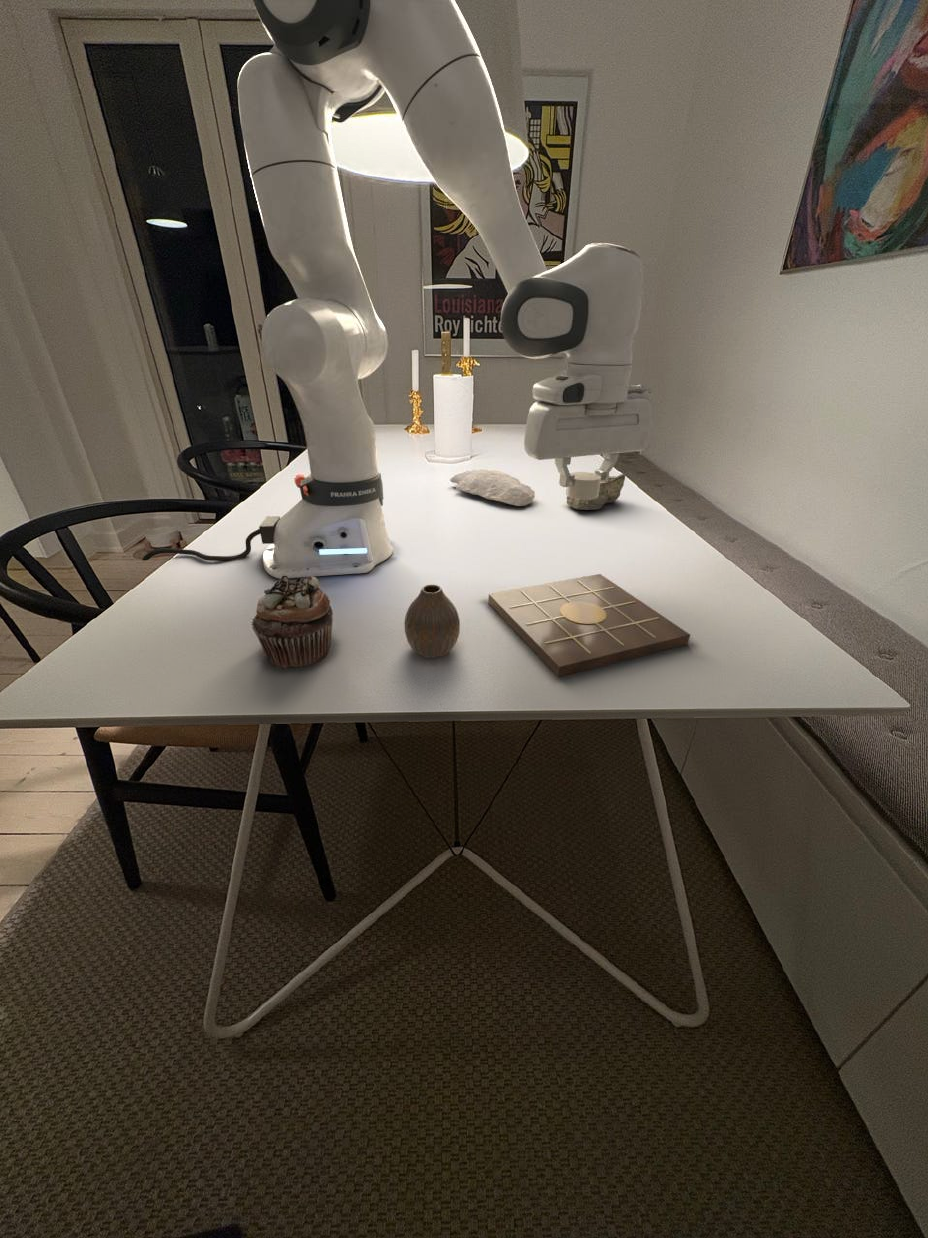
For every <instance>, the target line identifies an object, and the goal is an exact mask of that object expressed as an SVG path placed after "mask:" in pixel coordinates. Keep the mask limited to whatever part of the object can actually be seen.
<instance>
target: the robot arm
mask: <svg viewBox="0 0 928 1238" xmlns="http://www.w3.org/2000/svg"><path fill="white" fill-rule="evenodd" d="M252 2H253V5H254V8H255V11H256V14H257V15H258V18H259V20H260V22H261V24H262V26H263V28H264V30H265V32H266V33H267V35H268V37H269V38H270V40H271V42H272V43H273V46H272V48H270V49H269V52H263V53H260V54H256V55H254V56H252V57H251V58H249V60H247V61H246V62H245V63H244V65H243V66H242V67H241V69H240V72H239V75H238V78H237V98H238V99H237V100H238V111H239V119H240V120H239V121H240V126H241V133H242V139H243V140H242V141H243V146H244V151H245V155H246V160H247V165H248V169H249V174H250V178H251V181H252V185H253V190H254V194H255V198H256V201H257V206H258V211H259V214H260V218H261V222H262V226H263V230H264V233H265V237H266V241H267V245H268V248H269V251H270V253H271V255H272V257H273V259H274V260H275V262H276V263H277V264H278V265H279V267H280V268H281V269H282V270H283V272H284V273H285V275H286V277H287V278H288V280H289V282H290V284H291V286H292V288H293V291H294V292H295V294H296V297H297V298H295V299H292V300H290V301H287V302H283V303H282V304H280V305H278V306H276V307H275V308H273V309H272V310H271V311H269V313H268V314H267V316H266V317H265V319H264V322H263V324H262V328H261V346H262V351H263V354H264V357H265V359H266V361H267V363H268V365H269V366H270V368H271V369H272V371H273V372H274V373H275V374H276V375H277V376H278V377H279V378H280V379H281V380H282V381H283V382H284V384H285V385H286V387H287V388H288V391H289V392H290V395H291V397H292V400H293V402H294V405H295V407H296V409H297V411H298V414H299V417H300V420H301V424H302V427H303V432H304V435H305V436H304V437H305V443H306V450H307V457H308V463H309V469H310V474H309V475H308V476H305V475H304V474H299V473H298V474H297V475H295V477H294V485H295V486H296V487H297V488H298V489H299V492H300V496H301V499H300V500H299V501H298V502H297V503H296V504H295V505H294V506H292V508H290V509H289V510H288V511H287V512H286V513H285V514H283V515H282V516H281V517H280V515H277V516H271V515H270V516H269V515H268V516H266V517H265V518H264V519H263V521H262V522H261V523H260V525H258V526H259V527H258V529H256V530H254V531H252V532H250V533H249V534H248V535H247V537H246V538H245V550H244V551H243V552H241V553H239V554H237V555H225V556H224V555H207V554H204V553H201V552H200V551H197V550H194V549H193V550H192V549H184V548H172V547H171V548H170V547H161V548H156V549H152V550H151V551H148V552H147V553H146V554H144V556H143V557H142V559H141V561H149V560H150V559H151V558H152V557H154V556H157V555H160V554H177V555H178V554H179V555H189V556H194V557H197V558H199V559H201V560H204V561H209V562H231V561H235V560H240V559H244V558H246V557H247V556H249V554H251V552H252V544H251V542H252V540H253V539H254V538H255V537H257V536H259V535H260V539H261V544H262V545H268V544H269V546H268V547H266V548H265V550H264V551H263V554H262V562H263V563H262V564H263V567H264V568H263V569H264V570H265V572H266V573H267V574H269V576H272V577H274V578H276V579H279V580H281V577H282V576H287V577H288V578H289V579H299V578H304V577H306V578H308V577H309V576H310V577H326V576H339V575H356V574H367V573H369V572H371V571H372V570H373V569H374V568H375V567H376V566H377V565H378V564H380V563H382V562H384V561H385V560H387V559H388V558H390V557H391V556H392V554H393V551H394V548H393V546H392V543H391V541H390V538H389V533H388V531H387V527H386V522H385V517H384V512H383V505H384V486H383V480H382V474H381V473H380V472H379V463H378V449H377V448H378V447H377V435H376V426H375V424H374V421H373V420H372V419H373V418H371V417H370V416H369V414H368V412H367V410H366V407H365V404H364V401H363V398H362V394H361V390H360V387H359V380H363V379H365V378H367V377H369V376H370V375H372V374H374V372H375V371H376V370H377V369H378V368H379V367H380V366H381V365H382V364H383V362H384V361H385V359H386V357H387V353H388V350H389V349H388V348H389V339H388V333H387V330H386V328H385V326H384V324H383V322H382V320H381V319H380V318H379V316H378V314H377V312H376V310H375V308H374V304H373V303H372V300H371V297H370V294H369V291H368V289H367V285H366V282H365V280H364V277H363V275H362V272H361V269H360V265H359V263H358V259H357V257H356V254H355V251H354V248H353V243H352V238H351V235H350V230H349V225H348V219H347V215H346V210H345V204H344V200H343V194H342V189H341V184H340V178H339V173H338V168H337V163H336V159H335V154H334V149H333V143H332V133H331V125H332V121H333V122H336V123H339V124H340V123H344V122H346V121H347V120H349V119H351V117H353V116H354V115H355V114H356V113H359V112H361V111H363V110H365V109H367V108H369V107H371V106H373V105H374V104H375V103H377V102H378V101H379V100H380V99H381V97H382V96H383V95H384V94H385V92H386V94H387V96H388V98H389V99H390V101H391V104H392V105H393V108H394V110H395V112H396V114H397V117H398V119H399V121H400V123H401V125H402V127H403V129H404V132H405V135H406V136H407V139H408V140H409V142H410V144H411V146H412V148H413V150H414V152H415V154H416V156H417V157H418V159H419V160H420V162H421V164H422V165H423V167H424V169H425V170H426V172H427V173H428V174H429V176H430V177H431V179H432V180H433V181H434V183H435V184H436V185H437V187H438V188H439V189H440V191H441V192H442V193H443V194H444V195H445V196H446V197H447V198H448V199H449V200H450V201H451V202H452V203H453V204H454V205H455V206H456V207H457V208H458V209H459V210H460V211H461V212H462V213H463V214H464V216H466V218H467V219H468V221H470V223H471V224H472V225H473V227H474V228H475V230H476V231H477V232H478V234H479V236H480V237H481V239H482V241H483V243H484V245H485V247H486V249H487V251H488V254H489V255H490V258H491V259H492V262H493V264H494V267H495V268H496V270H497V272H498V275H499V277H500V280H501V282H502V284H503V286H504V289H505V291H506V292H507V295H506V297H505V299H504V302H503V304H502V307H501V310H500V329H501V332H502V336H503V338H504V340H505V342H506V344H507V345H508V346H509V348H511V350H513V352H515V353H517V354H518V355H520V356H521V357H524V358H527V359H531V360H532V359H533V360H537V359H549V358H553V357H556V356H557V355H559V354H561V353H562V354H563V353H564V354H565V355H566V367H565V370H563V371H561V372H559V373H556V374H555V375H551V376H550V377H547V378H545V379H543V380H540V381H538V382H536V383H534V384H533V386H532V391H531V392H532V398H533V399H534V400H536V401H535V402H534V403H533V404H532V405H531V406H530V408H529V411H528V414H527V418H526V424H525V430H524V441H523V449H524V452H525V453H526V454H527V456H528V457H530V458H531V459H534V460H537V461H546V460H554V464H555V466H556V469H557V472H558V473H559V481H558V482H559V486H560V487H562V488H567V487H571V486H573V485H574V482H573V481H574V478H575V475H573V474H570V473H571V472H570V470H569V468H568V466H569V465H571V462H572V458H577V457H579V458H580V457H588V456H600V455H601V458H603V461H602V462H601V465H600V466H599V468H598V469H594V473H595V474H598V475H600V476H601V483H607V482H608V478H609V476H610V472H611V471H612V469H613V468H614V466H615V465H616V464H617V463H618V460H619V456H620V455H619V454H622V453H632V452H633V453H634V452H643V451H644V450H645V449H646V448H647V446H648V445H649V443H650V440H651V432H652V415H653V412H652V411H653V410H652V407H653V406H652V405H653V401H654V394H653V392H652V391H651V389H650V388H649V387H648V385H646V384H638V385H634V384H633V385H632V384H630V381H631V375H632V368H633V360H634V358H633V344H634V339H635V336H636V334H637V332H638V329H639V326H640V325H639V324H640V319H641V312H642V306H643V305H642V303H643V296H644V281H645V280H644V278H645V277H644V276H645V274H644V272H645V271H644V265H643V262H642V260H641V257H640V256H639V255H638V254H637V253H636V252H635V251H634V250H632V249H630V248H627V247H626V246H622V245H618V244H614V243H606V242H603V243H602V242H592V243H590V244H589V243H588V244H587V245H585V246H584V247H583V248H582V249H581V250H580V251H579V252H577V254H575V255H573V256H572V257H571V258H569V259H567V260H566V261H565V262H563V263H561V264H559V265H557V266H555V267H553V268H551V269H548V267H547V265H546V263H545V261H544V259H543V256H542V255H541V253H540V249H539V247H538V245H537V242H536V240H535V237H534V235H533V233H532V230H531V228H530V226H529V223H528V221H527V219H526V216H525V214H524V212H523V209H522V206H521V202H520V199H519V195H518V192H517V189H516V188H517V187H516V182H515V179H514V174H513V169H512V163H511V158H510V151H509V147H508V142H507V136H506V132H505V126H504V122H503V118H502V114H501V110H500V106H499V103H498V100H497V97H496V93H495V89H494V86H493V84H492V80H491V77H490V74H489V72H488V69H487V66H486V64H485V62H484V59H483V57H482V55H481V52H480V49H479V47H478V45H477V42H476V39H475V38H474V36H473V34H472V32H471V29H470V28H469V25H468V23H467V21H466V19H465V17H464V15H463V14H462V12H461V10H460V8H459V6H458V4H457V3H456V0H252ZM334 114H335V115H334ZM336 115H337V116H336Z"/></svg>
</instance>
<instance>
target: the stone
mask: <svg viewBox="0 0 928 1238" xmlns="http://www.w3.org/2000/svg"><path fill="white" fill-rule="evenodd" d="M449 481H450V482H451V483H454V484H457V485H456V486H455V490H457V491H460V492H463V493H467V494H471V495H473V496H474V495H475V496H479V497H482V498H483V499H487V500H489V501H496V502H500V503H504V504H508V505H510V506H511V505H512V506H516V507H524V506H528V505H529V504H531V503H532V502H533V500H534V499H535V496H536V495H535V494H536V493H535V490H533V489H532V487H531V486H529V485H526V484H524V483H522V482H521V481H520V480H519V479H518V478H517V477H514V476H511V475H509V474H507V473H505V472H503V471H500V470H492V469H491V470H489V469H474V470H473V469H472V470H467V471H463V472H462V473H458V474H455V475H453V476H452V477H451V478H450V479H449Z"/></svg>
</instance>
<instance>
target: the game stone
mask: <svg viewBox="0 0 928 1238" xmlns="http://www.w3.org/2000/svg"><path fill="white" fill-rule="evenodd" d="M569 473H570V474H573V475H575V478H574V481H573V482H574V485H573V486H571V487H566V489H565V495H566V497H567V496H568V497H570V498H574V499H579V500H592V499H596V498H598V496H599V490H600V483H601V476H600V475H598V474H595V472H589V471H574V472H569Z"/></svg>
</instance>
